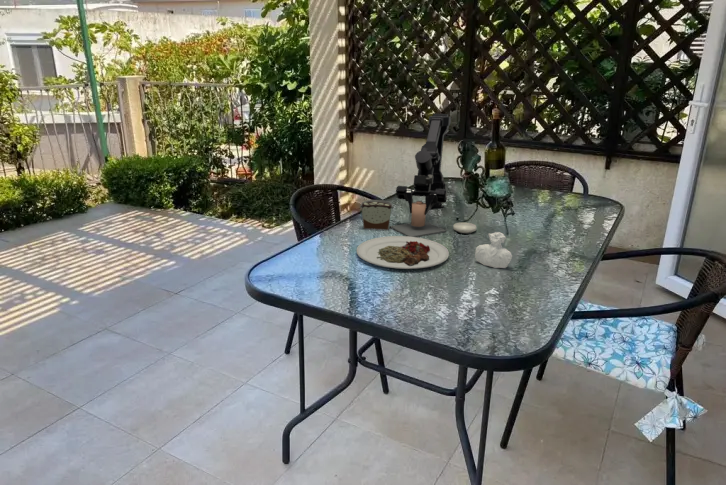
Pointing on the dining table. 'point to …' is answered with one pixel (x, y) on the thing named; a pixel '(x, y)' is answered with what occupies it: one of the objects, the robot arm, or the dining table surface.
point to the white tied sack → (494, 252)
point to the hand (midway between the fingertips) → (417, 213)
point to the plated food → (402, 252)
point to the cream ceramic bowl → (464, 227)
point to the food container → (376, 214)
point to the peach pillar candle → (418, 214)
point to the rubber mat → (417, 229)
